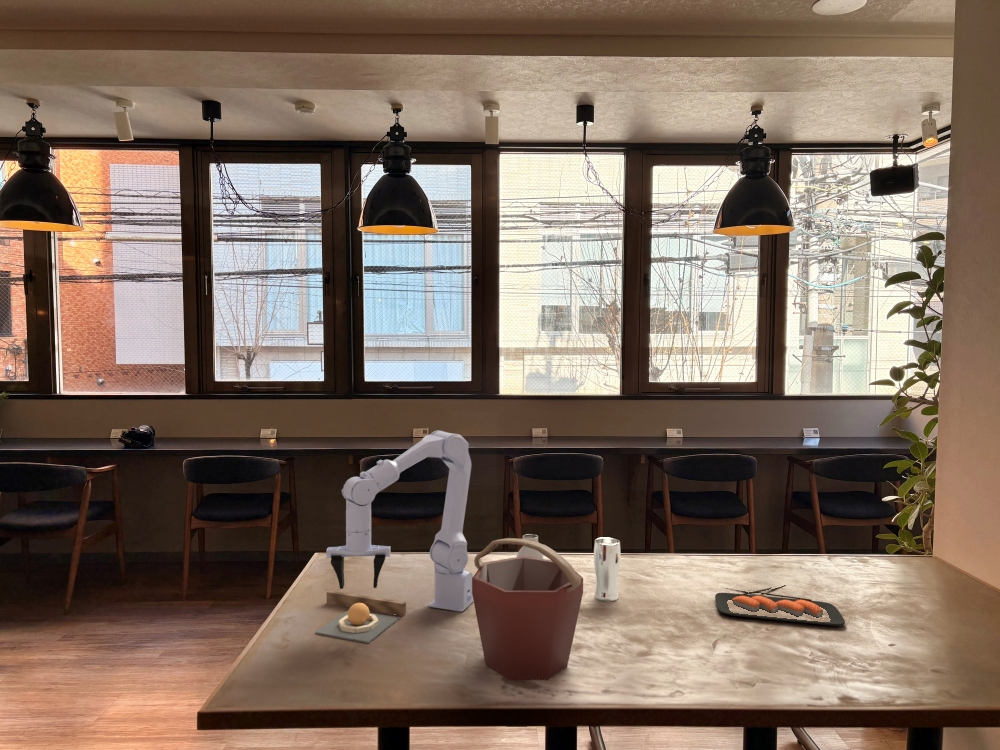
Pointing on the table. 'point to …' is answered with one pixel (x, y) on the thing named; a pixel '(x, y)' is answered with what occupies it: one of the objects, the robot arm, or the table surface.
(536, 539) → the plastic bottle
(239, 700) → the table surface
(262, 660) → the table surface
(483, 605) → the bucket
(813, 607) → the sushi plate
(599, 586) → the beer glass
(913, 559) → the table surface
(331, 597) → the fence
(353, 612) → the ball
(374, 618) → the cradle
